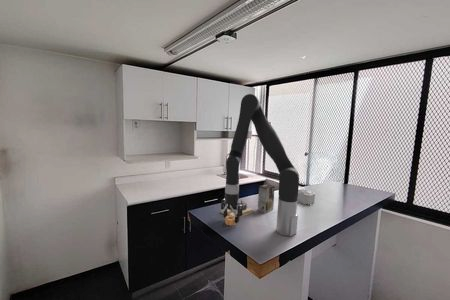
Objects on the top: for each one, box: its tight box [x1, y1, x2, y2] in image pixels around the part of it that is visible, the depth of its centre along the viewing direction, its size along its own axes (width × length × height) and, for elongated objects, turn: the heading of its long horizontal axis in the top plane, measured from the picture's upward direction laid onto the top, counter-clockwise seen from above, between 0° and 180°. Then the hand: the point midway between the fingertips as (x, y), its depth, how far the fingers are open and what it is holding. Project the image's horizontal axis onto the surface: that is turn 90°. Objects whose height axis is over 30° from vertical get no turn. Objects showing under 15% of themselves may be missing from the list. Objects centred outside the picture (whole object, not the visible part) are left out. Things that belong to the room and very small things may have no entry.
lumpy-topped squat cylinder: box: [297, 188, 316, 206], centre depth 157 cm, size 10×13×9 cm
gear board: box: [220, 199, 255, 218], centre depth 132 cm, size 12×17×7 cm
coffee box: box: [257, 183, 275, 214], centre depth 137 cm, size 9×6×16 cm
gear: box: [224, 216, 237, 226], centre depth 117 cm, size 6×6×3 cm
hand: (230, 220), depth 117 cm, fingers open, 8 cm apart
